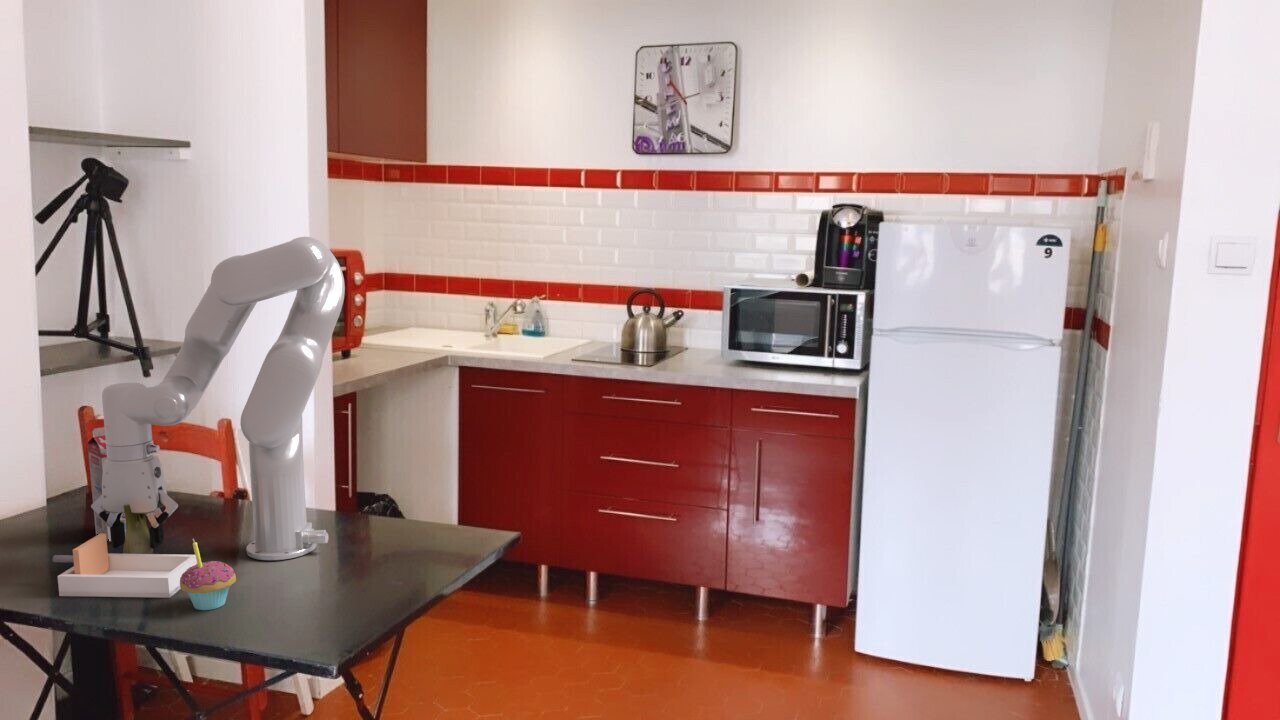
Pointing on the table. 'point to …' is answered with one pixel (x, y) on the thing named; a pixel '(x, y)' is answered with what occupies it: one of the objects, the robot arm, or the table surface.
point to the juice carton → (99, 476)
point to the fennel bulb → (136, 533)
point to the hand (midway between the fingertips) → (138, 544)
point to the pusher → (88, 556)
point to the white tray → (130, 577)
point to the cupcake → (207, 582)
